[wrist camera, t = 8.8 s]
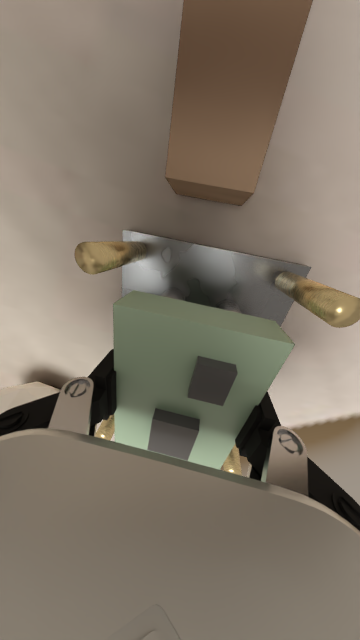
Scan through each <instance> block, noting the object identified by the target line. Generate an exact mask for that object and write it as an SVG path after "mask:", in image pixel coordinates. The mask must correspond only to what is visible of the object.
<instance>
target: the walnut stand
mask: <svg viewBox="0 0 360 640" xmlns="http://www.w3.org/2000/svg"><path fill="white" fill-rule="evenodd" d="M312 1H313V0H184V2H183V12H182V21H181V31H180V40H179V50H178V60H177V69H176V79H175V88H174V98H173V107H172V117H171V127H170V136H169V146H168V155H167V165H166V174H165V178H166V179H167V181H168V182H169V184H170V185H171V187H172V188H173V190H174V191H175V193H176V194H180V195H185V196H191V197H196V198H201V199H207V200H212V201H218V202H223V203H229V204H234V205H240V206H241V205H242V204H243V203H244V202H245V201H246V200H247V199H248V198H249V197H250V196H251V195H252V194H253V193H254V191H255V188H256V184H257V181H258V178H259V174H260V171H261V168H262V165H263V161H264V158H265V155H266V152H267V148H268V145H269V142H270V139H271V135H272V132H273V129H274V125H275V122H276V119H277V116H278V112H279V109H280V106H281V103H282V99H283V96H284V93H285V90H286V86H287V83H288V80H289V76H290V73H291V70H292V67H293V63H294V60H295V57H296V54H297V50H298V47H299V44H300V40H301V37H302V34H303V31H304V27H305V24H306V21H307V18H308V14H309V11H310V8H311V5H312Z"/></svg>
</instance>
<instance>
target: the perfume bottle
mask: <svg viewBox="0 0 360 640" xmlns="http://www.w3.org/2000/svg"><path fill="white" fill-rule="evenodd" d="M60 391H61V390H60V389H57V388H54V387H52V386H49V385H46V384H43V383H41V382H38V381H37V382H32V383H27V384H22V385H17V386H12V387H7V388H2V389H0V414H2V413H3V412H5V411H6V410H9V409H11V408H14V407H17V406H20V405H22V404H25V403H28V402H31V401H34V400H37V399H40V398H43V397H46V396H49V395H52V394H55V393H58V392H60Z"/></svg>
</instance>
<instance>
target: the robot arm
mask: <svg viewBox="0 0 360 640" xmlns="http://www.w3.org/2000/svg"><path fill="white" fill-rule="evenodd" d="M116 409H117V399H116V371H114V349H112V350H111V351H110V352H109V353H108V354H107V355H106V357H105V358H104V359H103V360H102V361H101V362H100V364H99V365H98V366H97V367H96V368H95V369H94V370H93V372H92V373H91V374H90V375H89V376H88V377H77V378H74V379H71V380H70V381H68V382H66V383H65V384H64V385H63V387H62V389H61V391H60V392H58V393H55V394H52V395H49V396H46V397H43V398H40V399H37V400H34V401H31V402H28V403H25V404H22V405H20V406H17V407H14V408H11V409H9V410H6V411H5V412H3V413H2V414H0V640H360V506H359V505H358V504H357V502H355V500H354V499H353V498H352V497H350V496H349V495H348V494H347V493H346V492H345V491H344V490H343V489H342V488H341V487H340V486H339V485H338V484H336V483H335V482H334V481H333V480H332V479H331V478H330V477H329V476H328V475H327V474H325V473H324V472H323V471H322V470H321V469H320V468H319V467H318V466H317V465H316V464H315V463H314V462H313V461H311V460H310V459H309V458H308V457H307V450H306V447H305V445H304V443H303V441H302V440H301V438H300V437H299V436H298V435H297V434H296V433H295V432H293V431H292V430H291V429H289V428H287V427H284V426H281V424H280V422H279V419H278V417H277V414H276V412H275V409H274V407H273V404H272V402H271V399H270V397H269V394H268V392H266V394H265V395H264V397H263V398H262V400H261V402H260V403H259V405H258V406H257V405H255V407H254V408H253V410H252V412H251V414H250V415H249V417H248V419H247V420H246V422H245V424H244V425H243V427H242V429H241V430H240V432H239V434H238V436H237V437H236V439H235V444H236V447H237V448H239V453H240V456H244V457H247V459H248V461H249V462H250V465H249V469H248V473H247V477H243V476H240V475H237V474H233V473H229V472H226V471H222V470H218V469H215V468H211V467H208V466H204V465H200V464H196V463H193V462H189V461H185V460H182V459H178V458H174V457H170V456H167V455H163V454H159V453H155V452H152V451H148V450H144V449H140V448H136V447H133V446H129V445H125V444H121V443H117V442H114V441H110V440H106V439H102V438H98V437H95V436H96V426H97V423H99V422H101V421H102V419H103V420H108V418H109V417H110V415H112V416H113V415H114V413H115V411H116Z"/></svg>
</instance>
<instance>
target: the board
mask: <svg viewBox="0 0 360 640" xmlns="http://www.w3.org/2000/svg"><path fill="white" fill-rule="evenodd" d="M113 326H114V371H116V399H117V409H116V411H115V442H117V443H121V444H125V445H129V446H133V447H136V448H140V449H144V450H148V451H152V452H155V453H159V454H163V455H167V456H170V457H174V458H178V459H182V460H185V461H189V462H193V463H196V464H200V465H204V466H208V467H211V468H215V469H218V470H220V468H221V466H222V465H223V463H224V461H225V460H226V458H227V456H228V455H229V453H230V452H231V450H232V448H233V447H234V445H235V439H236V437H237V436H238V434H239V432H240V430H241V429H242V427H243V425H244V424H245V422H246V420H247V419H248V417H249V415H250V414H251V412H252V410H253V408H254V407H255V405H257V406H258V405H259V403H260V402H261V400H262V398H263V397H264V395H265V394H266V392H267V390H268V389H269V387H270V385H271V384H272V382H273V380H274V379H275V377H276V375H277V374H278V372H279V370H280V369H281V367H282V365H283V364H284V362H285V360H286V359H287V357H288V355H289V354H290V352H291V350H292V349H293V347H294V345H295V344H294V343H293V342H292V340H291V339H290V338H289V337H288V336H287V335H286V333H285V332H284V331H283V330H282V329H281V327H280V326H279V325H278V324H277V323H276V321H273V320H269V319H264V318H260V317H255V316H251V315H246V314H241V313H237V312H232V311H228V310H223V309H218V308H214V307H209V306H205V305H200V304H195V303H191V302H186V301H182V300H177V299H173V298H168V297H163V296H159V295H154V294H150V293H145V292H140V291H136V290H133V291H131V292H130V293H128V294H127V295H125V296H124V297H123V298H121V299H120V300H118V301H117V302H115V303H114V304H113Z"/></svg>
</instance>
